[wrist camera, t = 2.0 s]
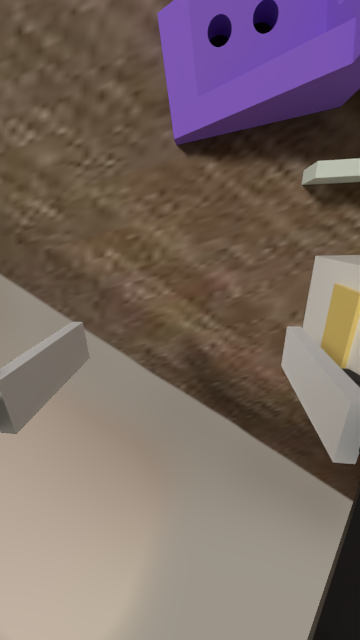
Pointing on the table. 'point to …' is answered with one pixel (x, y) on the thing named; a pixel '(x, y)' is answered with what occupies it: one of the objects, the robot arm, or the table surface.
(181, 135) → the bracket
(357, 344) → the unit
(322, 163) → the corral
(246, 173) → the table surface
